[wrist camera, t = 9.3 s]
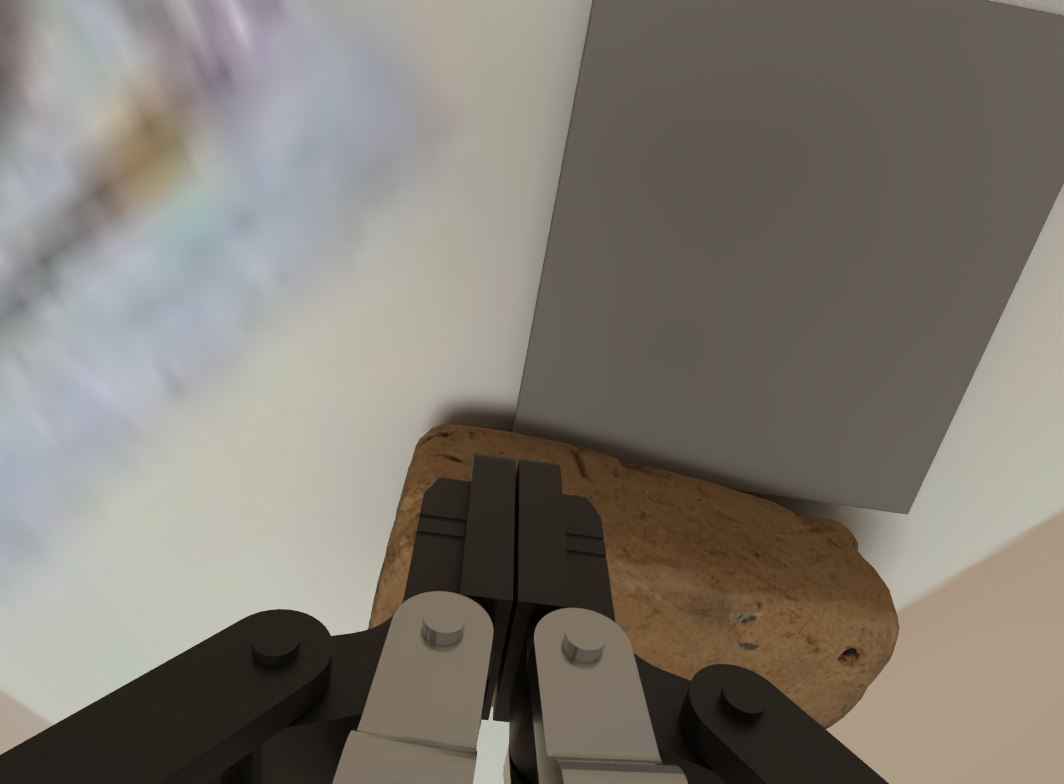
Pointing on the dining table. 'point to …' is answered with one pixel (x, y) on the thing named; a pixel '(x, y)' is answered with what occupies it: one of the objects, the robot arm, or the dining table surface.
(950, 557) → the dining table surface
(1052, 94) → the flat gray panel
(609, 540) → the block
